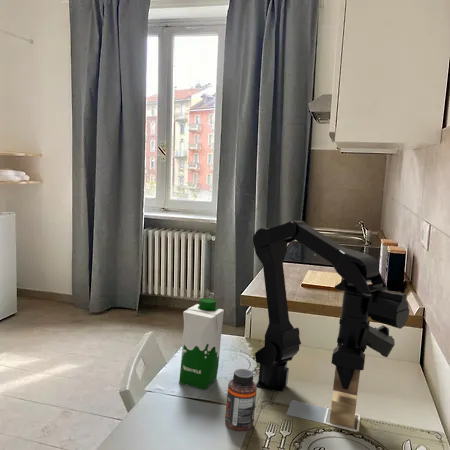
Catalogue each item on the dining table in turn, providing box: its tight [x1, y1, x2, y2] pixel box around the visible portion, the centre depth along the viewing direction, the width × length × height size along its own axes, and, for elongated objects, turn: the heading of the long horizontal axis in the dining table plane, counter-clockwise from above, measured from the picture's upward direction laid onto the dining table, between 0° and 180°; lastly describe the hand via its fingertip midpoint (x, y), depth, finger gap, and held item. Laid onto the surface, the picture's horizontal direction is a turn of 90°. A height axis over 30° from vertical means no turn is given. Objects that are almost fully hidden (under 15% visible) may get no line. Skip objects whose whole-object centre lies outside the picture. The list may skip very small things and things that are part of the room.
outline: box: [322, 407, 361, 433], centre depth 100 cm, size 7×7×1 cm
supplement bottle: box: [224, 368, 258, 432], centre depth 94 cm, size 6×6×11 cm
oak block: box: [329, 390, 358, 428], centre depth 100 cm, size 5×5×5 cm
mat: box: [285, 399, 357, 430], centre depth 101 cm, size 14×7×1 cm, turn 71°
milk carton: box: [178, 297, 225, 391], centre depth 112 cm, size 9×9×20 cm
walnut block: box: [332, 368, 361, 397], centre depth 99 cm, size 5×5×5 cm
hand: (346, 383), depth 99 cm, fingers closed on walnut block, 5 cm apart
